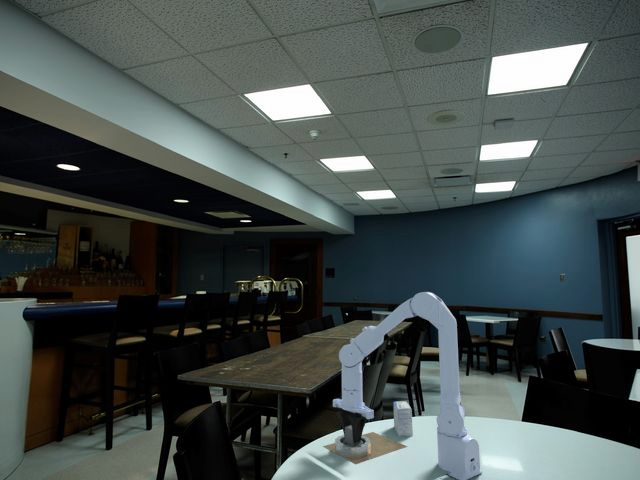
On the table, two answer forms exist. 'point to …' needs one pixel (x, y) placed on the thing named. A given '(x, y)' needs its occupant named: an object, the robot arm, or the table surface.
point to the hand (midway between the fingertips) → (352, 439)
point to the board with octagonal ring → (364, 447)
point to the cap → (350, 437)
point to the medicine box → (403, 419)
